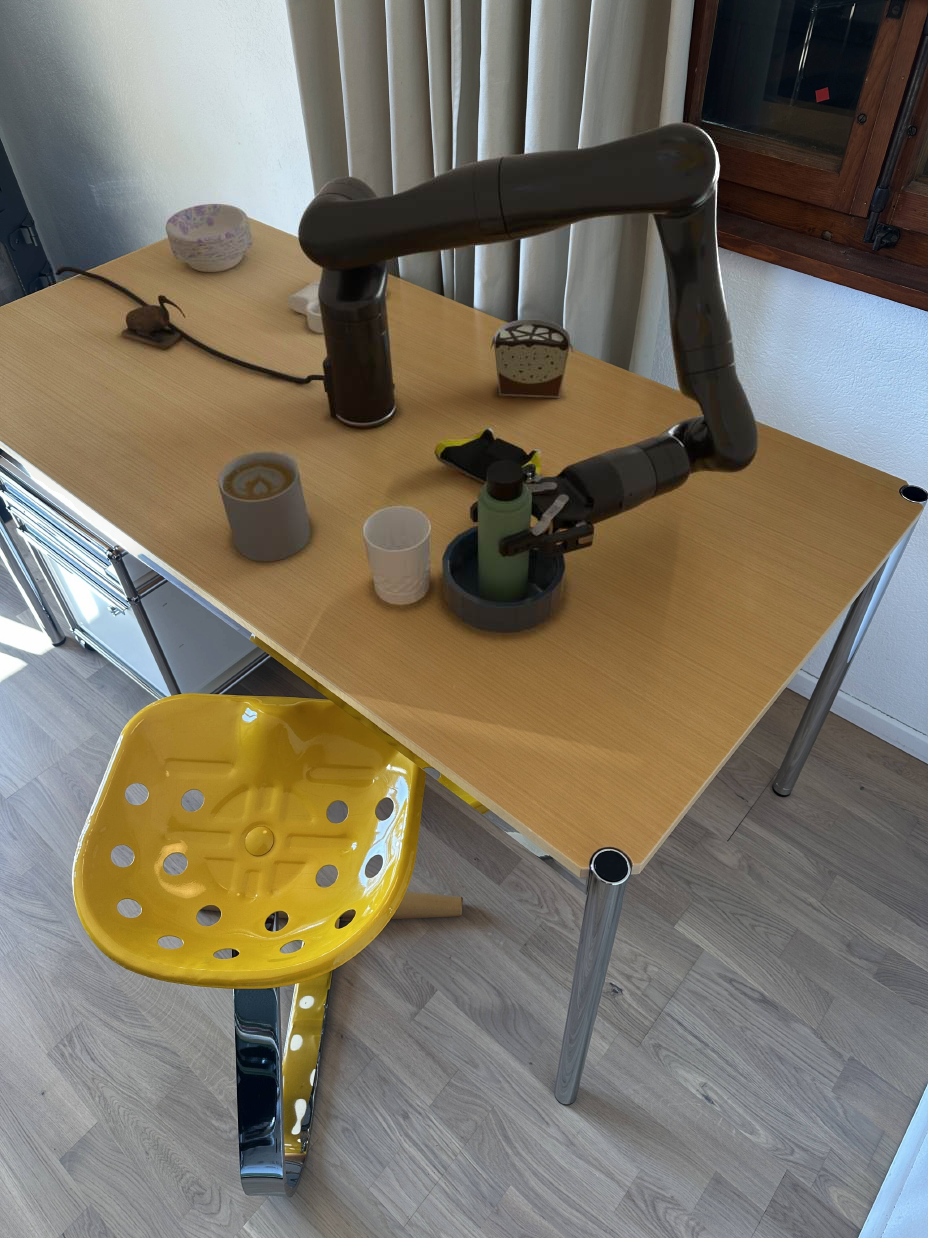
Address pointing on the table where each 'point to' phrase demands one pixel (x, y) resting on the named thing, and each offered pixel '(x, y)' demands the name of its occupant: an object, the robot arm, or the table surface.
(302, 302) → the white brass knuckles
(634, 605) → the table surface
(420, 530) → the white cup
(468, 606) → the dark blue bowl
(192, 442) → the table surface
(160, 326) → the figurine
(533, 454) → the black and yellow shoe
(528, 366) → the food container
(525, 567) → the bottle
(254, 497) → the coffee mug
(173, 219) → the paper bowls
